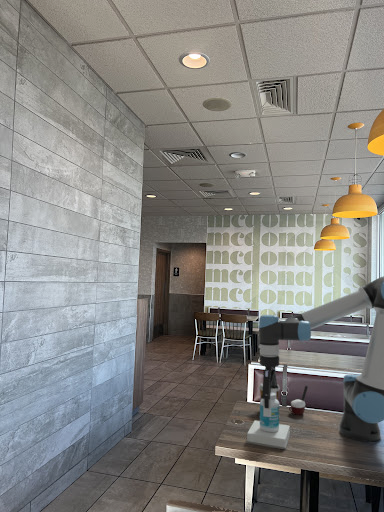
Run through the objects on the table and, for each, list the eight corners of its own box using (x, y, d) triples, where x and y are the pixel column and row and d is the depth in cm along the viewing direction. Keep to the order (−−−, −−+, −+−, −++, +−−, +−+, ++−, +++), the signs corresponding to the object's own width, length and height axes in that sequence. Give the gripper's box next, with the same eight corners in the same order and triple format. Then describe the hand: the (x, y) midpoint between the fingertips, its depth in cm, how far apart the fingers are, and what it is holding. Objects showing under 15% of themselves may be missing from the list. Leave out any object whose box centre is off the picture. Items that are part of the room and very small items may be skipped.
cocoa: (290, 416, 171) (289, 389, 171) (287, 411, 177) (286, 385, 177) (311, 416, 170) (310, 389, 171) (307, 410, 176) (306, 385, 177)
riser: (290, 434, 150) (290, 425, 150) (285, 449, 136) (285, 439, 137) (254, 428, 155) (254, 420, 155) (246, 442, 141) (246, 433, 142)
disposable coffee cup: (280, 415, 171) (280, 388, 171) (258, 413, 173) (258, 386, 173) (279, 408, 180) (279, 382, 181) (259, 406, 182) (259, 381, 183)
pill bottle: (271, 434, 141) (271, 397, 142) (255, 428, 146) (256, 393, 147) (283, 429, 146) (283, 394, 146) (267, 423, 151) (267, 389, 152)
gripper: (265, 348, 160) (266, 399, 159) (253, 360, 137) (254, 420, 136) (283, 350, 158) (284, 401, 156) (274, 362, 135) (275, 423, 133)
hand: (270, 410), depth 146 cm, fingers open, 13 cm apart
